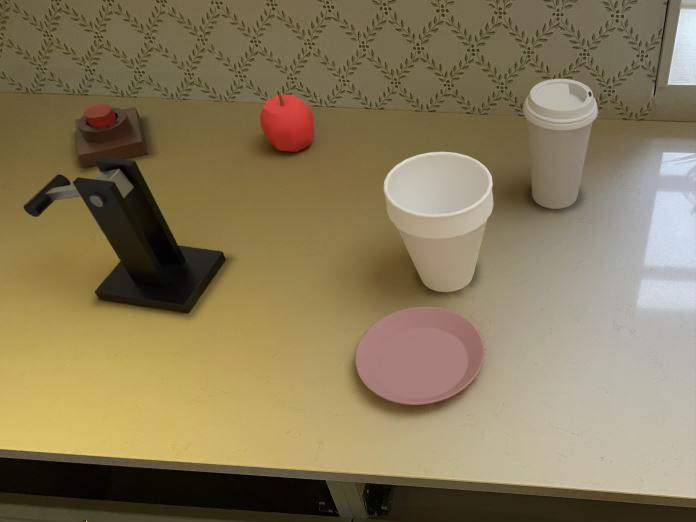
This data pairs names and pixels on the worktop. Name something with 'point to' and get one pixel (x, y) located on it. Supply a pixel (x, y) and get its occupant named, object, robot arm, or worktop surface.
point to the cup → (440, 214)
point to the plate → (420, 355)
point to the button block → (111, 138)
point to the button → (100, 115)
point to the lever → (71, 190)
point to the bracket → (144, 245)
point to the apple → (287, 123)
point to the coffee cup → (558, 139)
